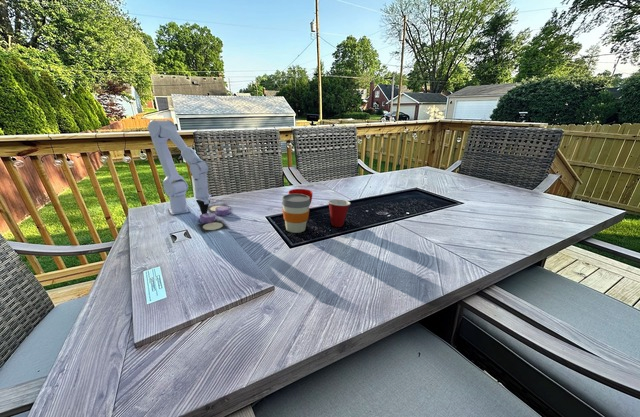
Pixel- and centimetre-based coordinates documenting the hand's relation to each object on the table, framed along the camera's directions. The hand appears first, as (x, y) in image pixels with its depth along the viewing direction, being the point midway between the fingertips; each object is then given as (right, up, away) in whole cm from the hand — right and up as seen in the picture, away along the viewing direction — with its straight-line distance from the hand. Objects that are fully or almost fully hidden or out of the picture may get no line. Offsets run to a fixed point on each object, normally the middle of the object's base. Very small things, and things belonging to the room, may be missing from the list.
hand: (204, 213), depth 129 cm
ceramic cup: (+45, +1, +15) cm, 48 cm away
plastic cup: (+65, -5, -1) cm, 66 cm away
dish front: (+4, -3, -4) cm, 6 cm away
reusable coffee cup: (+46, -7, -8) cm, 47 cm away
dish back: (+7, 0, +6) cm, 9 cm away
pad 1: (+2, +3, +12) cm, 12 cm away
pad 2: (+8, -5, -10) cm, 14 cm away
